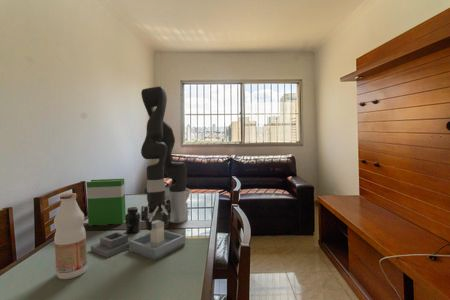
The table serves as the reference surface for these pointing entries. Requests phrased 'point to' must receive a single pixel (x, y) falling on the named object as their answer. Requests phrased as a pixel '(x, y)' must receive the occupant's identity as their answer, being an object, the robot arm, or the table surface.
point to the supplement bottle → (132, 220)
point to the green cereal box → (106, 201)
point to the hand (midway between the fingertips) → (157, 226)
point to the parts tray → (144, 248)
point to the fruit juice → (70, 239)
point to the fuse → (157, 234)
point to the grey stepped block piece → (111, 244)
